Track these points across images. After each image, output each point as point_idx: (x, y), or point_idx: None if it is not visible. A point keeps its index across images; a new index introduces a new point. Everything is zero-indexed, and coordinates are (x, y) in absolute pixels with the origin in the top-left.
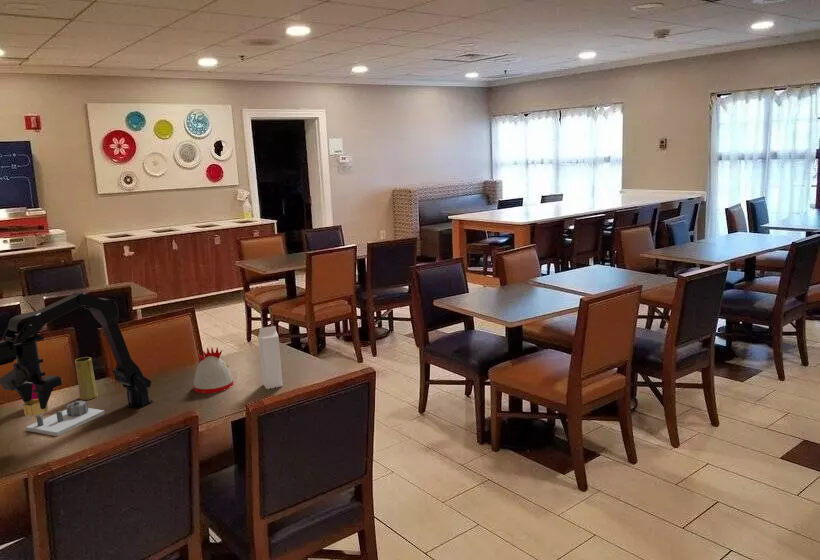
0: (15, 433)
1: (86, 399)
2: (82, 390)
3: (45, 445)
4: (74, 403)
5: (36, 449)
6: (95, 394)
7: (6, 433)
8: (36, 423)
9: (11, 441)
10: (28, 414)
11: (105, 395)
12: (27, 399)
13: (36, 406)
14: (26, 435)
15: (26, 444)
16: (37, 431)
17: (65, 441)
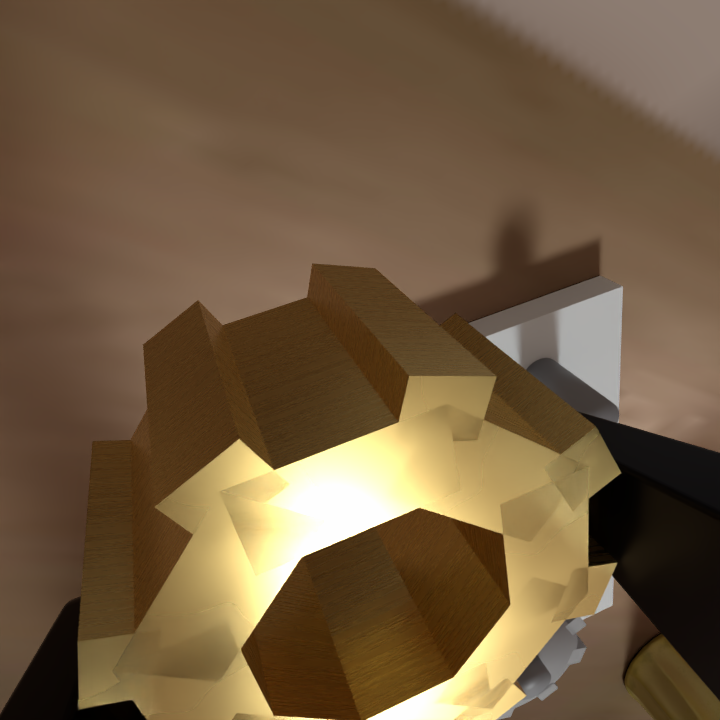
0: (635, 194)
1: (644, 649)
2: (705, 689)
3: (93, 258)
4: (527, 669)
5: (52, 151)
6: (638, 698)
7: (705, 147)
8: (600, 365)
9: (517, 88)
10: (267, 316)
11: (598, 717)
12: (648, 538)
13: (106, 587)
14: (512, 236)
15: (307, 145)
16: (483, 323)
17: (26, 420)
